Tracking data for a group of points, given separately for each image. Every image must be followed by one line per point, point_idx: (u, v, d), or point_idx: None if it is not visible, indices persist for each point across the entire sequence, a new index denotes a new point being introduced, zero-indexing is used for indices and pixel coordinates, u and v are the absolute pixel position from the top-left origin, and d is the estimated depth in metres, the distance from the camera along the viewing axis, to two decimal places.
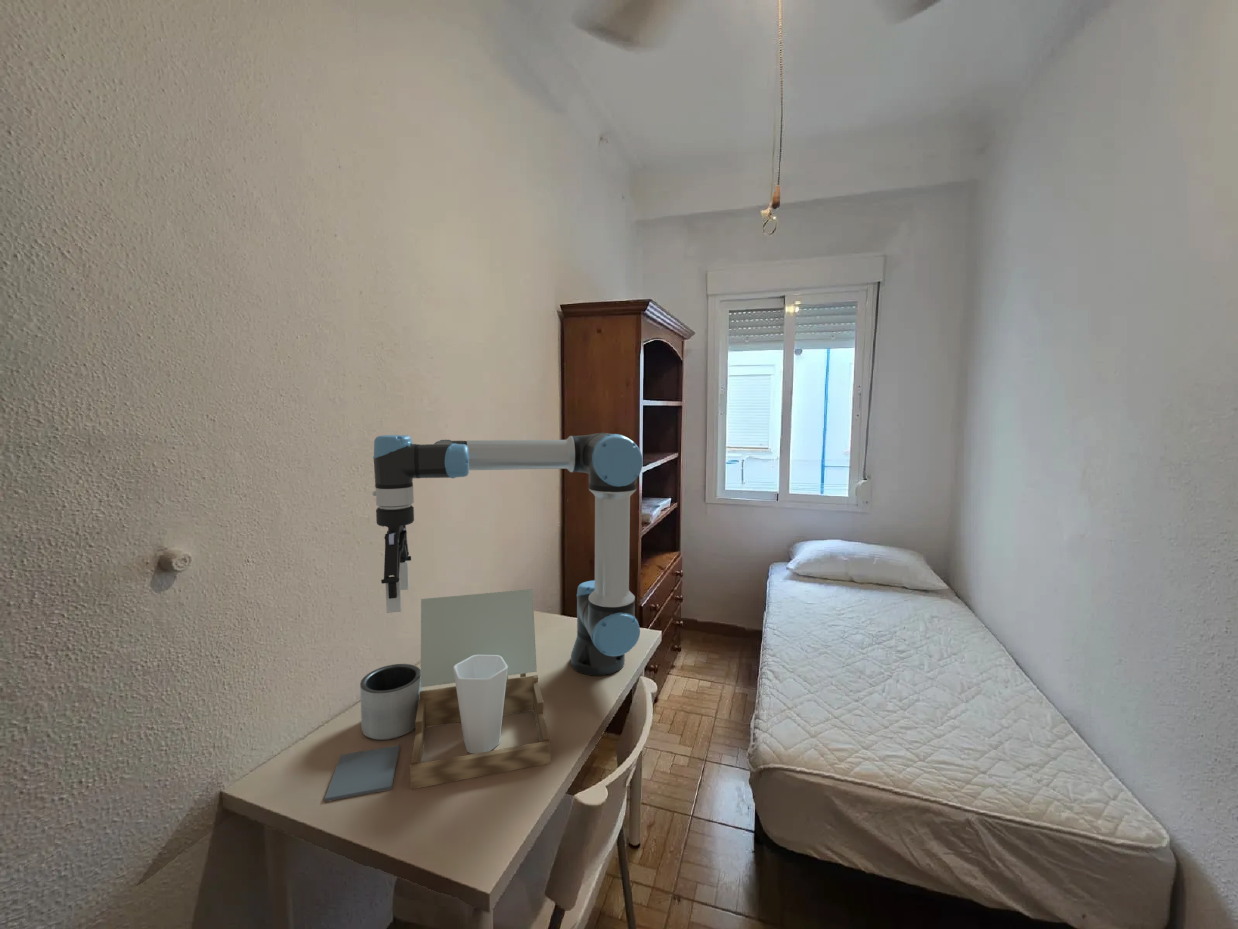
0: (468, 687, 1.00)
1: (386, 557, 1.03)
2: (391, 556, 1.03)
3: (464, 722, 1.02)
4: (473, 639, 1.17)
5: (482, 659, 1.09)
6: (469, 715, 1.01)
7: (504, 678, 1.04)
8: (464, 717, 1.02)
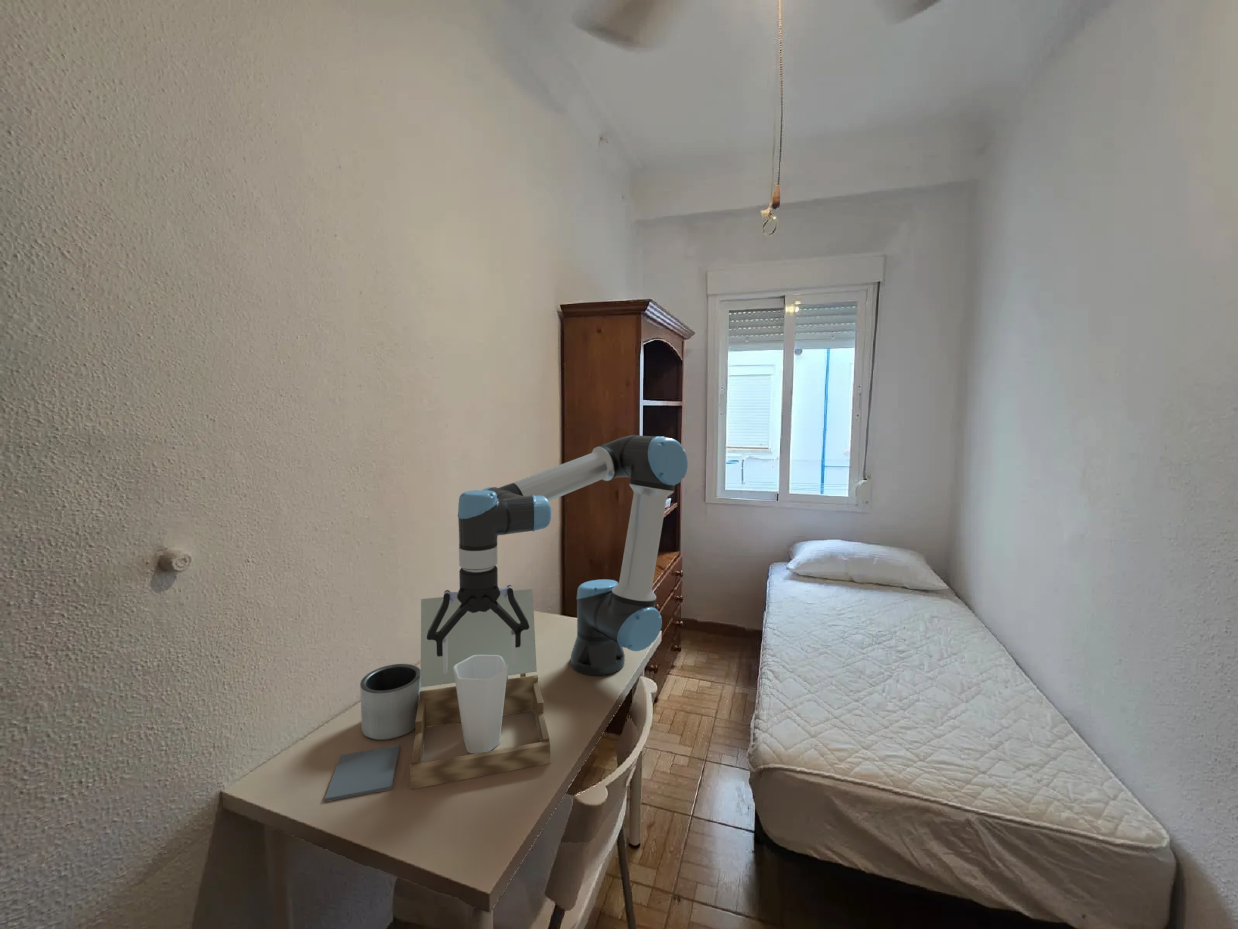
0: (468, 687, 1.00)
1: (437, 612, 1.02)
2: (437, 613, 1.01)
3: (464, 722, 1.02)
4: (473, 639, 1.17)
5: (482, 659, 1.09)
6: (469, 715, 1.01)
7: (504, 678, 1.04)
8: (464, 717, 1.02)
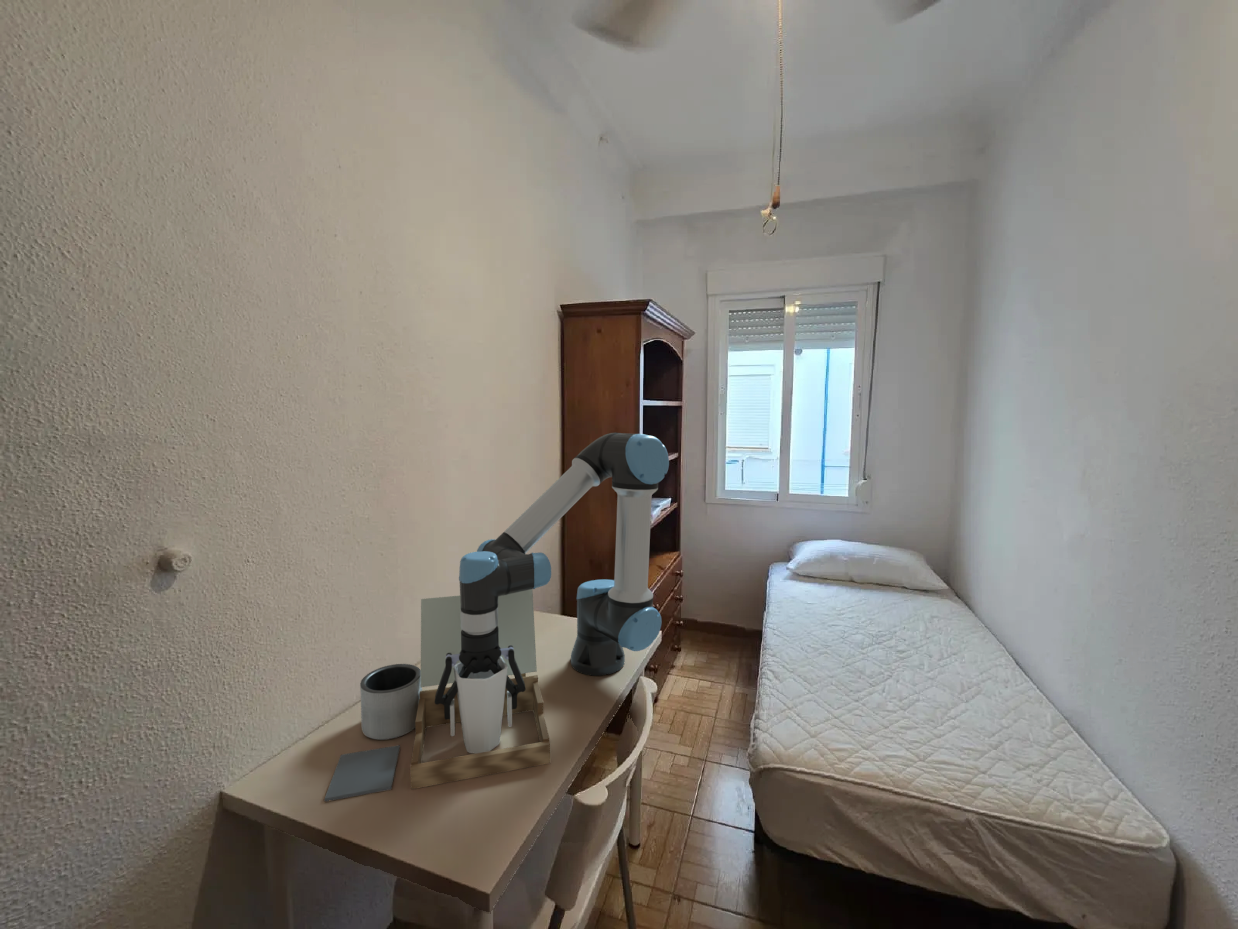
0: (468, 687, 1.00)
1: (442, 675, 1.04)
2: (442, 677, 1.03)
3: (464, 722, 1.02)
4: None
5: None
6: (469, 715, 1.01)
7: (504, 678, 1.04)
8: (464, 717, 1.02)
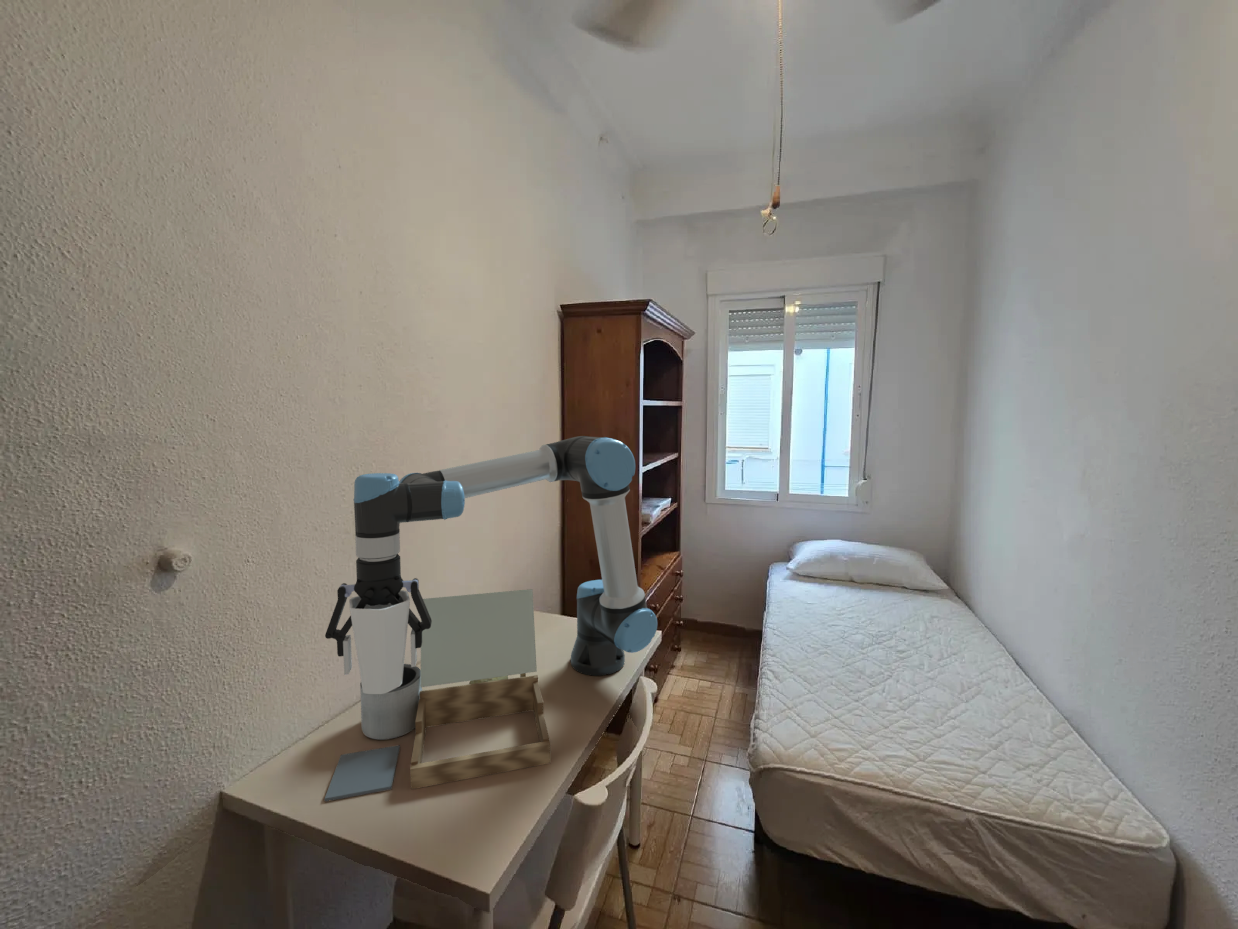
0: (361, 618, 0.91)
1: None
2: None
3: (358, 658, 0.93)
4: (473, 639, 1.17)
5: None
6: (363, 650, 0.92)
7: (405, 612, 0.95)
8: (358, 653, 0.92)
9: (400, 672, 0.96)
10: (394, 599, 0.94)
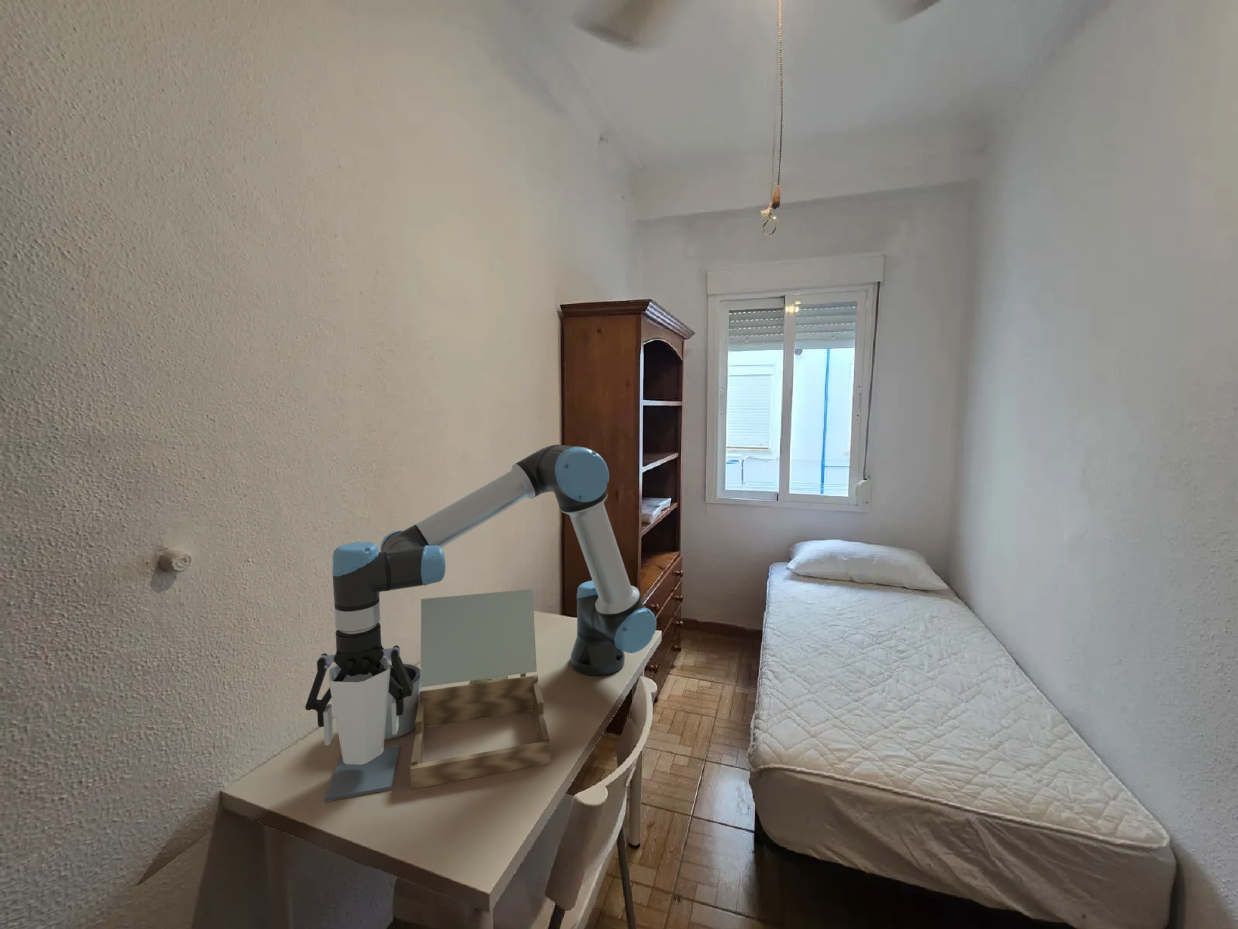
0: (340, 691, 0.91)
1: None
2: None
3: (338, 730, 0.93)
4: (473, 639, 1.17)
5: None
6: (342, 722, 0.92)
7: (385, 681, 0.94)
8: (338, 724, 0.92)
9: (381, 741, 0.96)
10: (374, 669, 0.94)
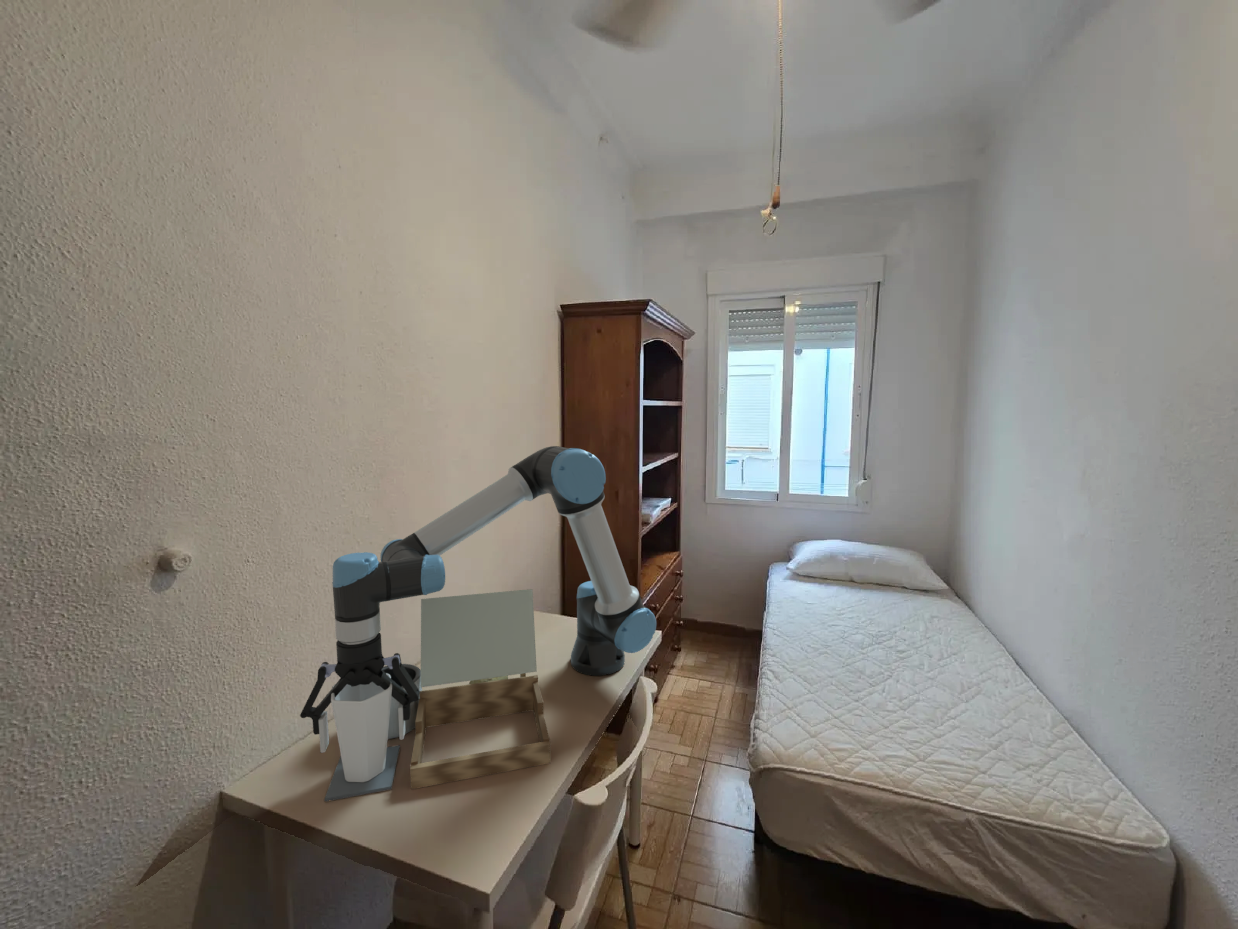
0: (342, 710, 0.91)
1: None
2: None
3: (340, 748, 0.93)
4: (473, 639, 1.17)
5: None
6: (344, 740, 0.92)
7: (387, 700, 0.95)
8: (340, 742, 0.93)
9: (383, 758, 0.96)
10: (376, 678, 0.95)
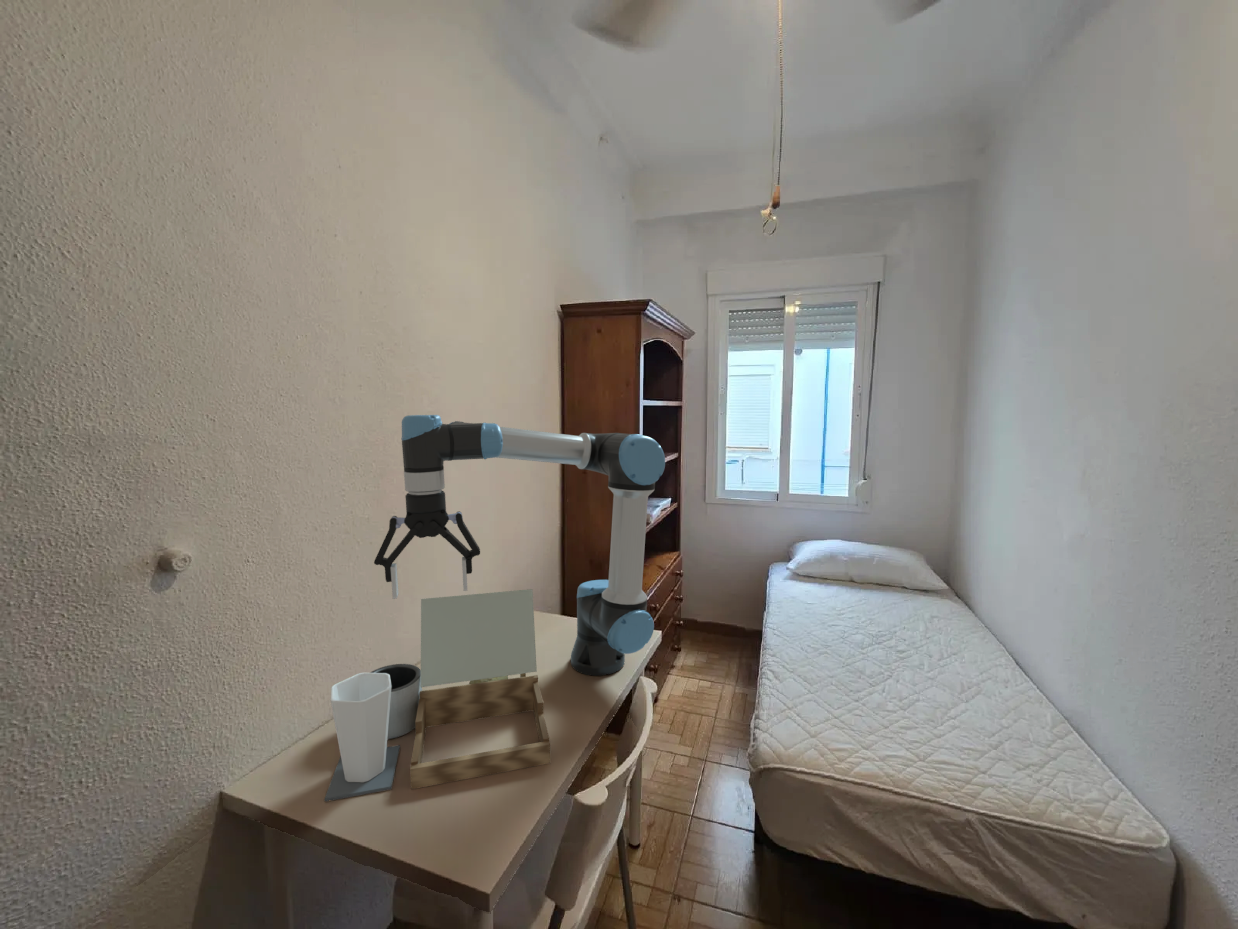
0: (341, 710, 0.91)
1: None
2: None
3: (340, 748, 0.93)
4: (473, 639, 1.17)
5: (369, 677, 1.00)
6: (344, 740, 0.92)
7: (386, 699, 0.95)
8: (339, 743, 0.93)
9: (382, 758, 0.96)
10: (442, 530, 1.02)
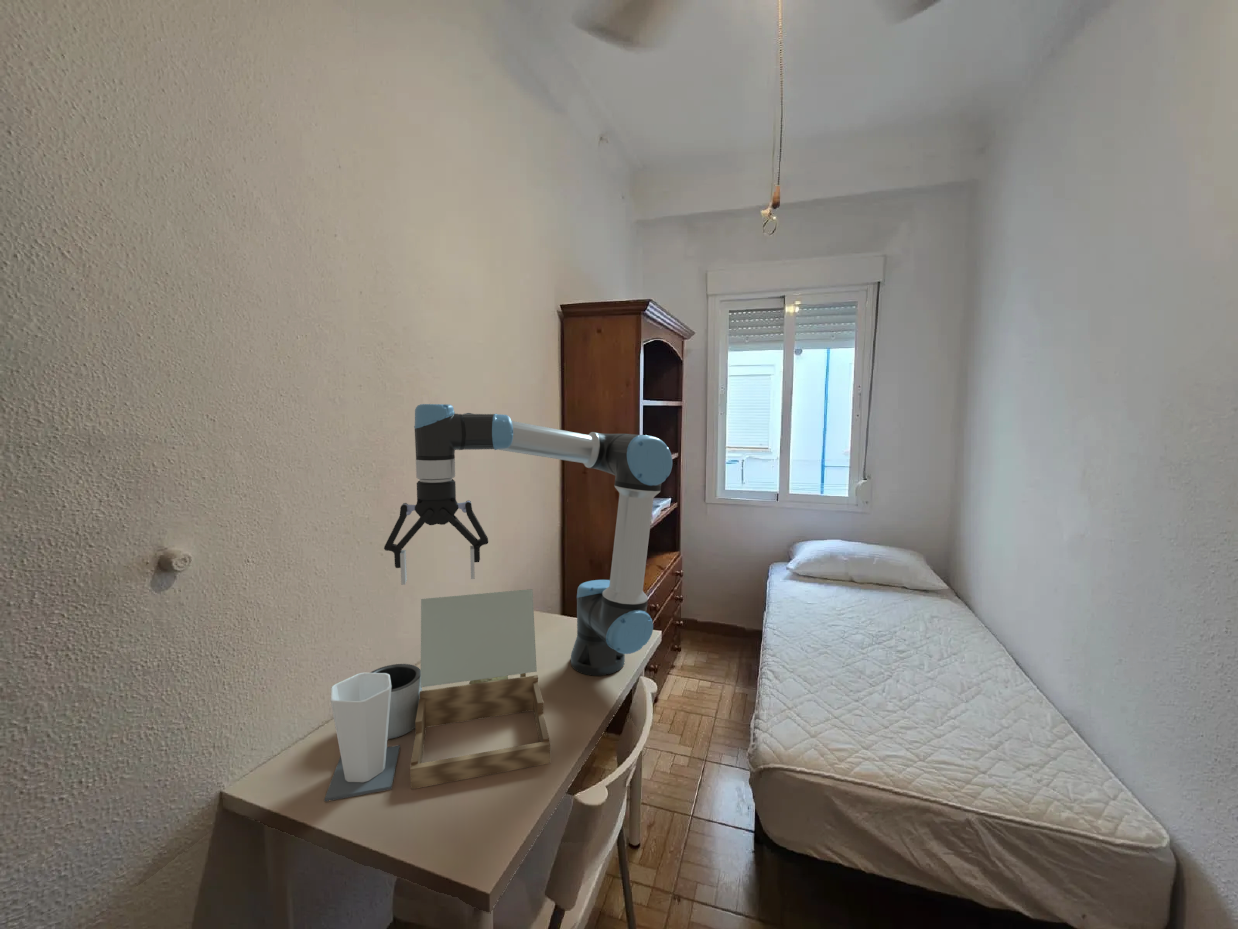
0: (341, 710, 0.91)
1: None
2: None
3: (340, 748, 0.93)
4: (473, 639, 1.17)
5: (369, 677, 1.00)
6: (344, 740, 0.92)
7: (386, 699, 0.95)
8: (339, 743, 0.93)
9: (382, 758, 0.96)
10: (452, 518, 1.03)
